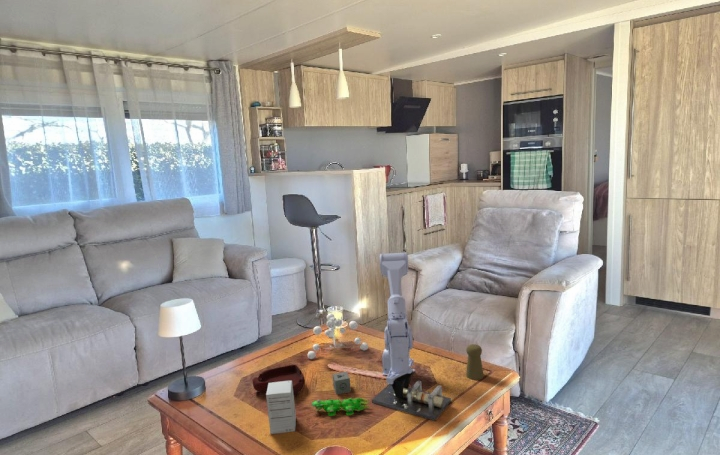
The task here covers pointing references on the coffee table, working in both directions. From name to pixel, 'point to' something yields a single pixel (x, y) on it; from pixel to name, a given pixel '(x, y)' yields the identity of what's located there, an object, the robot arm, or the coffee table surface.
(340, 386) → the dice cube
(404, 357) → the robot arm
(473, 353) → the cork
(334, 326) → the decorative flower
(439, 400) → the brass tube
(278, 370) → the ashtray
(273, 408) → the supplement box
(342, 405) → the green bumpy long piece
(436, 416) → the collar base
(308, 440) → the coffee table surface
